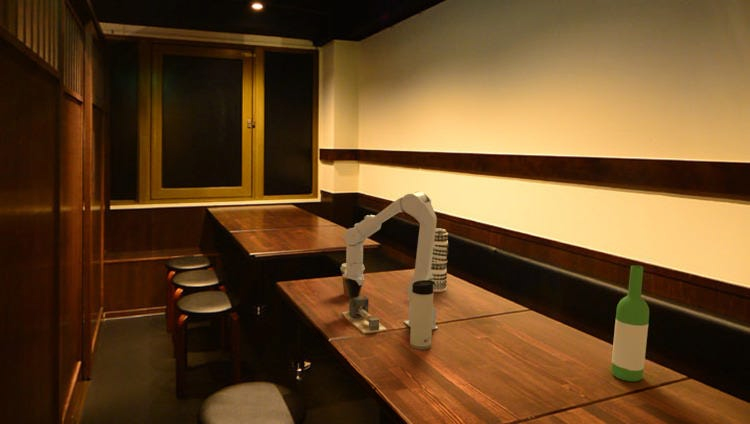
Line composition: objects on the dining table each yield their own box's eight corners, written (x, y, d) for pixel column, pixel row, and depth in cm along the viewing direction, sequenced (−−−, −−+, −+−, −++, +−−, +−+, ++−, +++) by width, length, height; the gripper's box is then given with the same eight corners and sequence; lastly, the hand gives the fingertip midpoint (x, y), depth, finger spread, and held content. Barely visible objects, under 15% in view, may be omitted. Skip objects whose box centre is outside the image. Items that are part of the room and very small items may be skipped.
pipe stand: (386, 330, 170) (386, 318, 169) (363, 333, 167) (363, 321, 166) (363, 311, 188) (363, 300, 188) (341, 313, 185) (342, 302, 184)
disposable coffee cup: (336, 292, 210) (336, 263, 208) (358, 290, 214) (359, 261, 212) (345, 299, 201) (345, 268, 200) (368, 297, 205) (368, 266, 204)
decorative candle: (450, 288, 221) (453, 228, 217) (441, 293, 213) (444, 232, 209) (431, 284, 225) (433, 226, 222) (421, 289, 218) (423, 229, 214)
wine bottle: (615, 367, 147) (625, 261, 142) (645, 376, 142) (657, 266, 138) (606, 376, 141) (616, 266, 136) (638, 386, 136) (650, 271, 132)
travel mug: (431, 351, 154) (433, 284, 152) (408, 348, 156) (411, 282, 153) (433, 343, 160) (435, 279, 158) (411, 341, 162) (413, 277, 159)
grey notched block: (368, 316, 181) (368, 298, 180) (352, 317, 178) (353, 300, 178) (364, 313, 183) (365, 296, 183) (349, 315, 181) (349, 297, 180)
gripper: (336, 258, 188) (336, 295, 190) (351, 267, 175) (350, 307, 177) (355, 256, 191) (354, 293, 193) (370, 266, 178) (369, 305, 180)
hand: (353, 300), depth 185 cm, fingers closed
